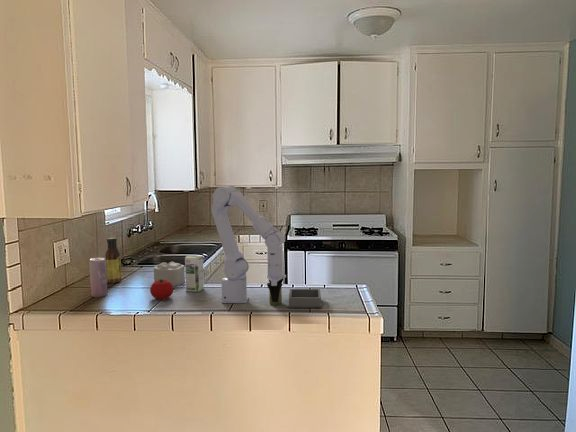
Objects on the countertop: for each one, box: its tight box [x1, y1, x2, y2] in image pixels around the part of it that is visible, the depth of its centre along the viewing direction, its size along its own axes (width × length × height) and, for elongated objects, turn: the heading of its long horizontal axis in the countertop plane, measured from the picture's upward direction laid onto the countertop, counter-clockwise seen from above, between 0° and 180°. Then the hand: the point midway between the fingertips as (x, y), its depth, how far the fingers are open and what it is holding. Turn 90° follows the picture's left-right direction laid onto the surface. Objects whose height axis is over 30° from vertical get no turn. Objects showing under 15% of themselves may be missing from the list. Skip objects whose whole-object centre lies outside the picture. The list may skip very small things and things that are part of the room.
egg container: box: [153, 261, 186, 287], centre depth 194 cm, size 10×13×9 cm
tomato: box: [149, 279, 175, 301], centre depth 170 cm, size 9×9×8 cm
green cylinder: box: [268, 287, 283, 307], centre depth 162 cm, size 5×5×6 cm
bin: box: [288, 288, 322, 310], centre depth 162 cm, size 12×12×4 cm
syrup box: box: [184, 254, 205, 293], centre depth 181 cm, size 6×6×14 cm
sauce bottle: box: [105, 237, 123, 284], centre depth 195 cm, size 7×6×20 cm
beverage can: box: [88, 257, 108, 298], centre depth 174 cm, size 6×6×15 cm
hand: (275, 299), depth 162 cm, fingers open, 5 cm apart
